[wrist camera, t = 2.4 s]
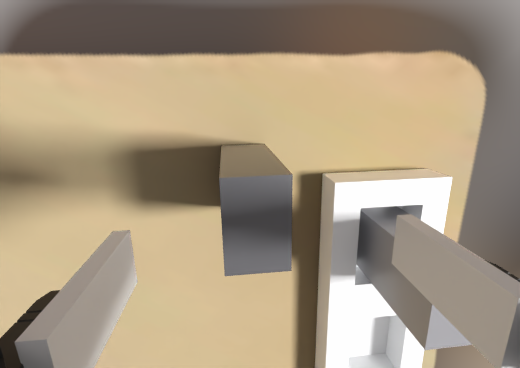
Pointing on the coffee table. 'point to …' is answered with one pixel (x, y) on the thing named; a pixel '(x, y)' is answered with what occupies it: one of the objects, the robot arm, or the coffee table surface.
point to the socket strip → (348, 286)
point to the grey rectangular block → (255, 210)
